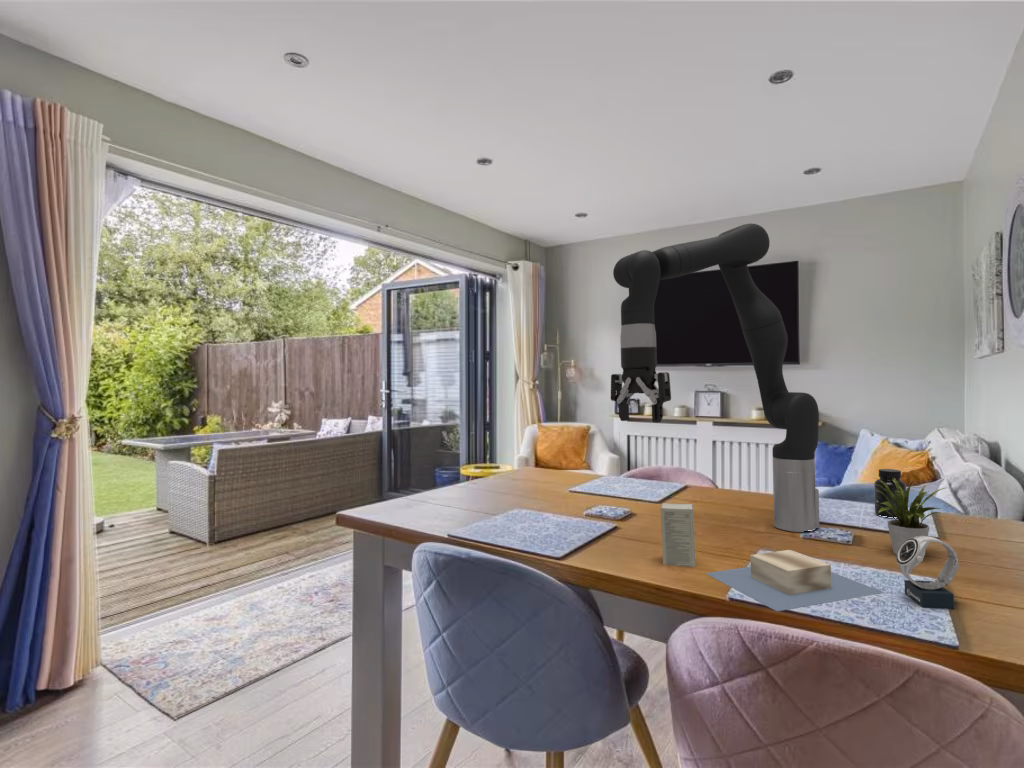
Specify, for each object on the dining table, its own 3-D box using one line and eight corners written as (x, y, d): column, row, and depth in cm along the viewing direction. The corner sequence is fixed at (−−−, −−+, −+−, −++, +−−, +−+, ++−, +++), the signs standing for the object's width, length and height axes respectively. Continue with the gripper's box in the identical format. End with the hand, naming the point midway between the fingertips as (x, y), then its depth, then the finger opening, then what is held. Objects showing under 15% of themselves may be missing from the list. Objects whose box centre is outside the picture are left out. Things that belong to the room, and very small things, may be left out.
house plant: (845, 548, 118) (843, 472, 118) (886, 539, 124) (885, 467, 124) (916, 568, 105) (914, 483, 105) (959, 557, 110) (957, 476, 110)
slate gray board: (799, 563, 109) (799, 559, 109) (884, 597, 92) (884, 592, 92) (705, 577, 103) (705, 573, 103) (777, 616, 86) (777, 611, 86)
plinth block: (790, 570, 103) (790, 549, 103) (831, 587, 95) (830, 564, 94) (750, 576, 101) (750, 555, 101) (788, 594, 92) (788, 571, 92)
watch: (891, 598, 92) (890, 532, 92) (946, 600, 90) (945, 533, 90) (908, 612, 86) (907, 542, 86) (967, 615, 85) (966, 543, 85)
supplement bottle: (870, 512, 148) (869, 468, 148) (898, 513, 146) (897, 468, 146) (882, 518, 141) (881, 472, 141) (912, 519, 140) (911, 472, 140)
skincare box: (695, 564, 110) (694, 503, 110) (695, 571, 106) (693, 508, 106) (663, 561, 113) (662, 502, 112) (661, 568, 108) (660, 507, 108)
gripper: (677, 344, 115) (679, 421, 115) (623, 348, 126) (625, 419, 126) (655, 343, 110) (657, 424, 110) (601, 348, 121) (603, 421, 122)
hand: (640, 421), depth 118 cm, fingers open, 8 cm apart
